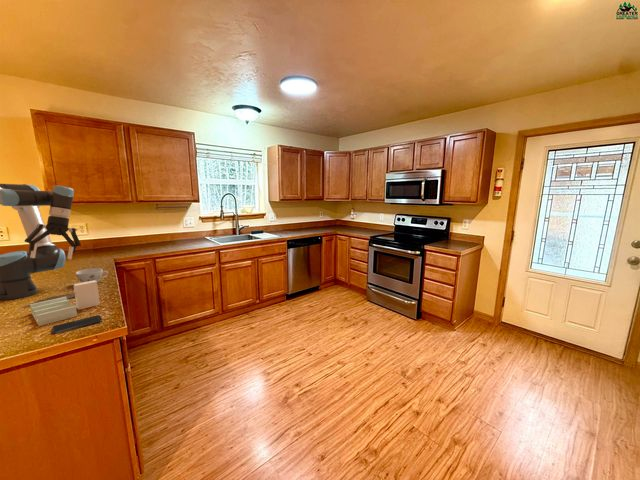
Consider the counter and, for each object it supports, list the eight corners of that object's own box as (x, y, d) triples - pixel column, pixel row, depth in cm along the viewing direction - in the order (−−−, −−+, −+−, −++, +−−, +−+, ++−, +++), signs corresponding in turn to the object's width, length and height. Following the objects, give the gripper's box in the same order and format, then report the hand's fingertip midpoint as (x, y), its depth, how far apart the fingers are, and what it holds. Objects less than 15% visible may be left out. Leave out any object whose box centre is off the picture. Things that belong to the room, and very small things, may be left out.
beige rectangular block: (76, 308, 125) (73, 284, 124) (97, 302, 132) (94, 280, 130) (78, 309, 123) (75, 285, 122) (99, 304, 130) (96, 281, 128)
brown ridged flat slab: (86, 290, 150) (86, 288, 150) (93, 294, 144) (93, 292, 144) (19, 305, 129) (19, 303, 128) (24, 310, 123) (23, 308, 122)
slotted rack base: (31, 313, 119) (29, 304, 118) (67, 305, 129) (65, 296, 128) (38, 326, 107) (37, 316, 107) (77, 315, 117) (76, 306, 116)
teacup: (75, 287, 153) (73, 274, 152) (79, 282, 163) (77, 269, 162) (107, 283, 162) (106, 270, 160) (109, 278, 172) (108, 266, 170)
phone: (102, 320, 112) (52, 333, 101) (102, 323, 112) (52, 335, 101) (99, 314, 117) (52, 325, 106) (99, 317, 117) (52, 328, 106)
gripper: (26, 211, 118) (18, 258, 116) (92, 221, 141) (86, 260, 139) (20, 211, 121) (11, 256, 119) (85, 220, 144) (79, 259, 142)
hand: (51, 258), depth 129 cm, fingers open, 13 cm apart
